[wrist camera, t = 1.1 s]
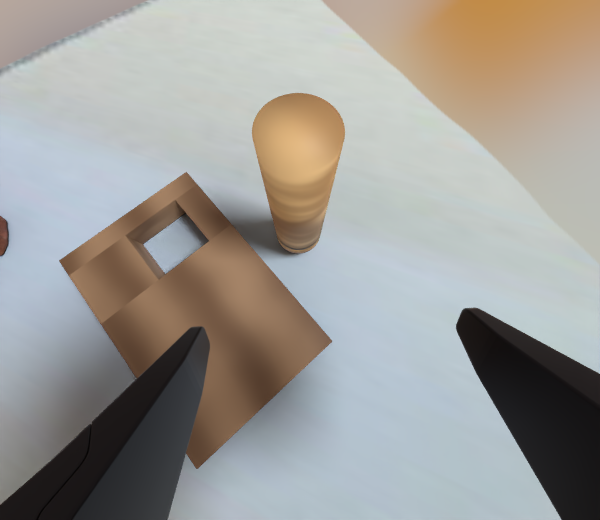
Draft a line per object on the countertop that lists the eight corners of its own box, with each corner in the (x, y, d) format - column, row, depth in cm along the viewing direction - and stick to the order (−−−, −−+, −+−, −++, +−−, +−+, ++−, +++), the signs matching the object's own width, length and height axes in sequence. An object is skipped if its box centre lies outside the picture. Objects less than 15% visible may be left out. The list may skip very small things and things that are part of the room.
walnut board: (209, 451, 20) (196, 469, 17) (83, 267, 23) (59, 260, 21) (328, 339, 22) (332, 341, 20) (197, 186, 26) (186, 171, 23)
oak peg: (296, 265, 24) (293, 189, 10) (269, 235, 24) (233, 126, 11) (327, 239, 24) (364, 134, 11) (300, 211, 25) (302, 78, 11)
